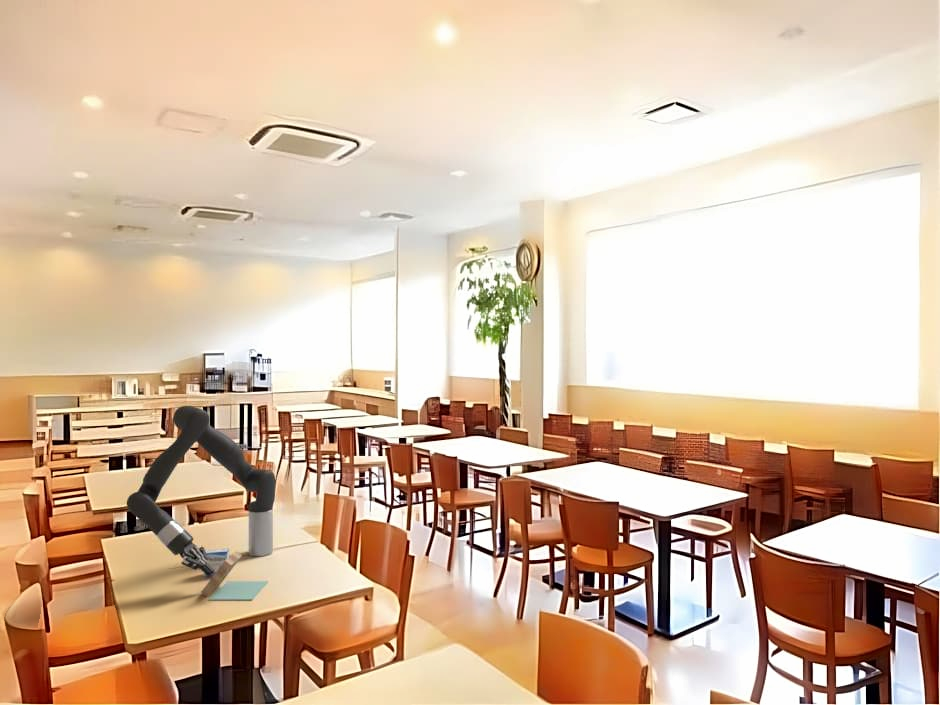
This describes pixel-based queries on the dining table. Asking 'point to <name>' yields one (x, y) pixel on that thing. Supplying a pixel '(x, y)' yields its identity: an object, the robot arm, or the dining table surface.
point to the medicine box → (216, 559)
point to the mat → (238, 590)
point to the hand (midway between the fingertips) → (211, 573)
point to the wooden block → (221, 573)
